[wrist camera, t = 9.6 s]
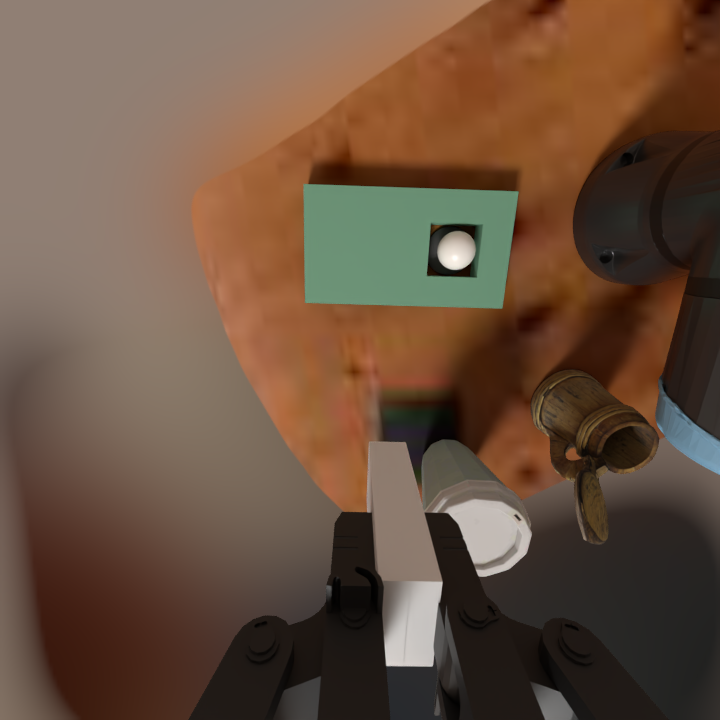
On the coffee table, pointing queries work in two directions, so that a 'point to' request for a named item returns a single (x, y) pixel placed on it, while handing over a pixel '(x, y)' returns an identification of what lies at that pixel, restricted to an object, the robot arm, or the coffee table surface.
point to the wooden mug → (590, 440)
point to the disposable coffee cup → (475, 506)
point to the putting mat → (403, 245)
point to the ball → (456, 250)
